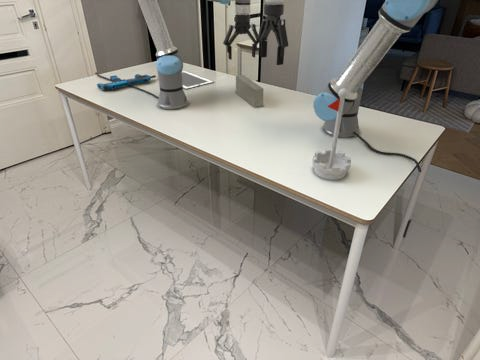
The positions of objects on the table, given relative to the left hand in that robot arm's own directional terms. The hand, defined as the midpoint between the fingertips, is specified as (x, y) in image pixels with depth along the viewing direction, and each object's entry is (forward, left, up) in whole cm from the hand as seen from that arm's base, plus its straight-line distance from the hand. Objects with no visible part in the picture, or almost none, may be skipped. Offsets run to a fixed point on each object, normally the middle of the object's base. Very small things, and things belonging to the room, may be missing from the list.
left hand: (241, 58), depth 181 cm
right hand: (+41, -16, +9) cm, 45 cm away
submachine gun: (-59, -44, -20) cm, 77 cm away
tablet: (-42, -12, -20) cm, 48 cm away
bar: (+9, -2, -20) cm, 22 cm away
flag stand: (+86, -26, -20) cm, 91 cm away
